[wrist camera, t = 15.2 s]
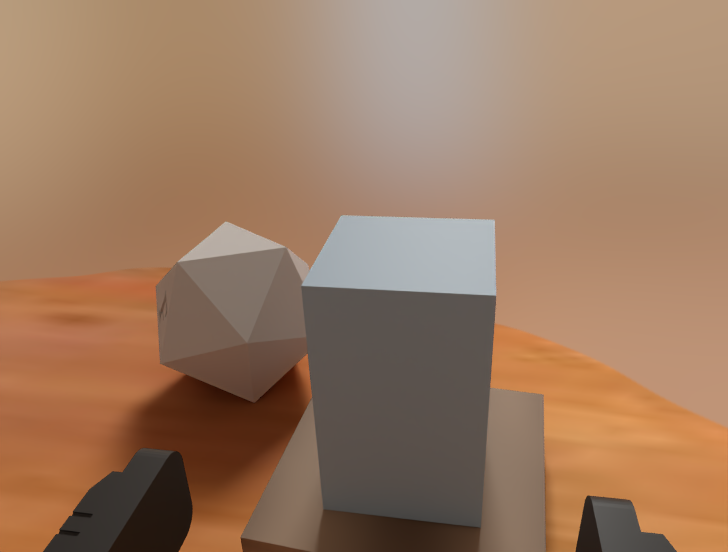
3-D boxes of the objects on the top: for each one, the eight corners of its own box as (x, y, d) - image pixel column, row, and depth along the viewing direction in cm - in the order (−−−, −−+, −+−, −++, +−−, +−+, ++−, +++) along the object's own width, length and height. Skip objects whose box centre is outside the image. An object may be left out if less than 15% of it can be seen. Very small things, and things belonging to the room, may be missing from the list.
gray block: (323, 509, 22) (301, 285, 18) (353, 409, 26) (341, 215, 22) (480, 527, 21) (496, 295, 17) (482, 420, 25) (494, 219, 21)
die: (221, 327, 39) (105, 246, 32) (336, 262, 37) (241, 160, 30) (237, 443, 33) (103, 377, 26) (372, 372, 32) (268, 281, 25)
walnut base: (250, 594, 22) (240, 537, 21) (330, 415, 31) (327, 366, 29) (536, 659, 20) (546, 599, 18) (536, 446, 28) (543, 394, 27)
